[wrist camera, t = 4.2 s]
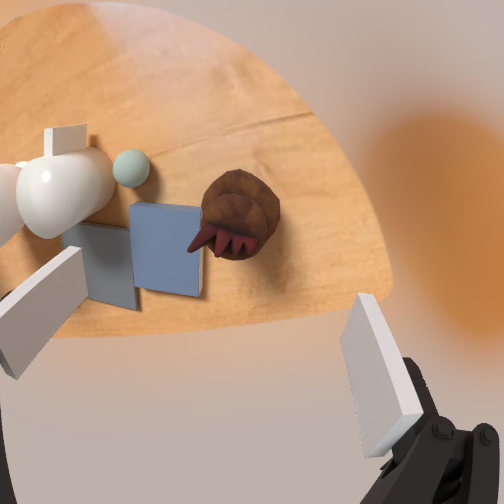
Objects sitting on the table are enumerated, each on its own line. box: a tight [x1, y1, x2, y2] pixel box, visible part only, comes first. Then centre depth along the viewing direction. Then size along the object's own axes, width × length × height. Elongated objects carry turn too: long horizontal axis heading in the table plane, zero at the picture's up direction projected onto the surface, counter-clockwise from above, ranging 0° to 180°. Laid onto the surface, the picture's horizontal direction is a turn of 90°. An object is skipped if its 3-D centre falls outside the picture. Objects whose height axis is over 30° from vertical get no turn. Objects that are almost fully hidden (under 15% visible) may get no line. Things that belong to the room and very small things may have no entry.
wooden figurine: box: [187, 169, 280, 261], centre depth 23 cm, size 7×6×15 cm
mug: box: [16, 124, 116, 239], centre depth 25 cm, size 8×11×9 cm
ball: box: [112, 149, 150, 188], centre depth 27 cm, size 4×4×4 cm
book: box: [129, 202, 204, 297], centre depth 32 cm, size 8×10×2 cm
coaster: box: [61, 221, 139, 310], centre depth 34 cm, size 11×11×1 cm
